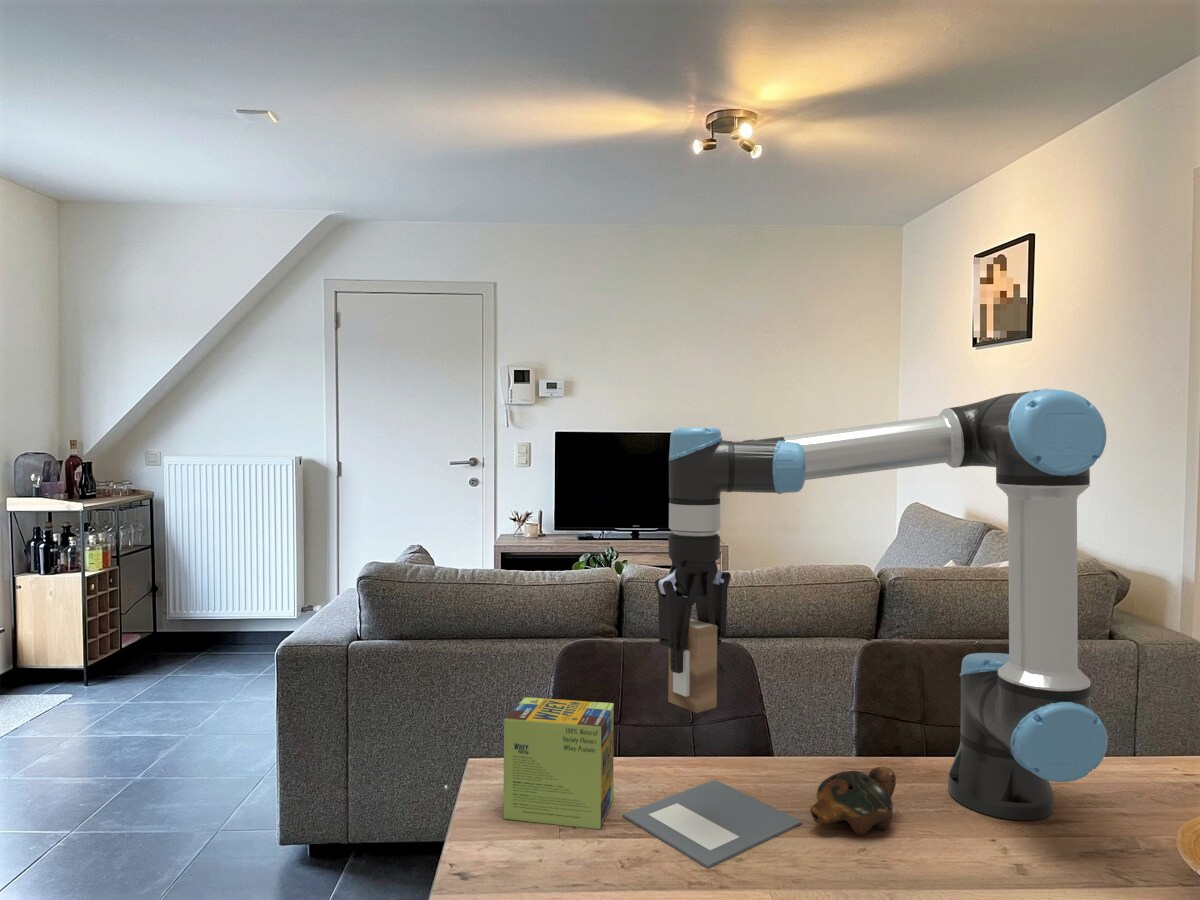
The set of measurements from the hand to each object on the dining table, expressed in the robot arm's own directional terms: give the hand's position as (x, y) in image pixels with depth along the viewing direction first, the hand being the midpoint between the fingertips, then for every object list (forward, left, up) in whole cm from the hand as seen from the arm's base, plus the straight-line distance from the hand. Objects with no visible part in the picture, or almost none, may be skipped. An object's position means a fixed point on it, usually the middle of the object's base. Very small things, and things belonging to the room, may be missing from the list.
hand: (692, 690), depth 116 cm
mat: (0, -4, -21) cm, 21 cm away
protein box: (+17, +12, -21) cm, 29 cm away
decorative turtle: (-14, -20, -21) cm, 32 cm away
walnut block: (0, 0, -2) cm, 2 cm away
